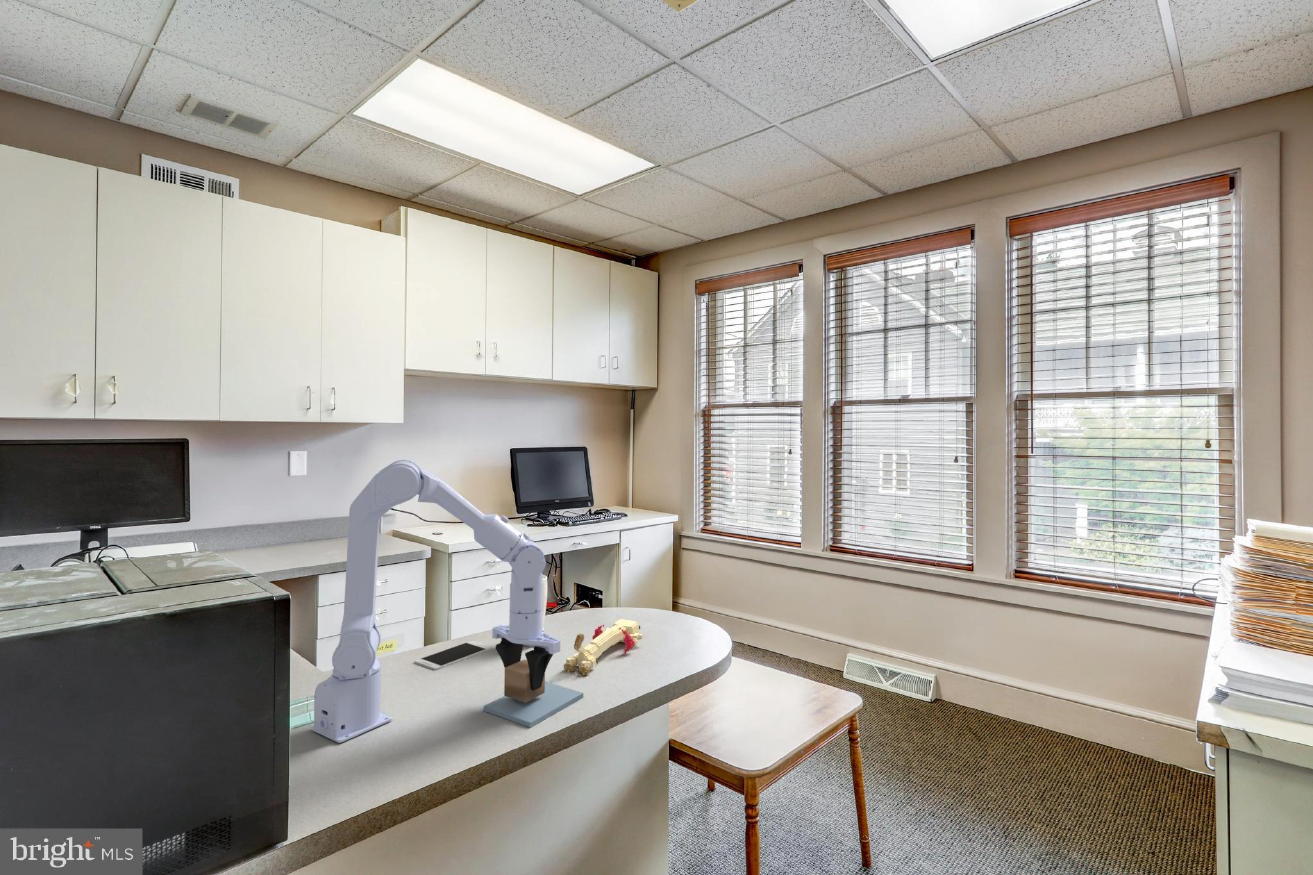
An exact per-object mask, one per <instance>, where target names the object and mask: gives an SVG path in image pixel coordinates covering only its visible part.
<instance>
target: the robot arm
mask: <svg viewBox="0 0 1313 875" xmlns="http://www.w3.org/2000/svg"><path fill="white" fill-rule="evenodd" d="M417 495H418V500H417V502H418V503H428V504H430V503H431V504H436V505H438V506H440V507H441V508H442V509H443V510H445V511H446V512H448V513H449V514H451V515H452V516H453V517H455V518H456V519H458V520H459V521H460V522H462V523H464V524H465V525H467V526H468V527H469V528H470V529H472V530H473V539H474V540H473V541H475V542H476V543H478V544H479V545H480V546H482V547H483V548H484V549H485V550H487V551H489V553H491V554H492V555H493V556H494V557H496V558H497V559H499V561H502V562H505V563H508V564H509V566H511V571H510V572H511V574H510V575H511V576H510V577H511V578H510V581H511V582H510V584H509V617H508V618H509V623H508V626H507V625H502V624H499V625H496V626H493V627H492V632H491V633H492V634H491V636H492V638H491V639H494V640H497V639H500V643H497V644H495V651H496V652H497V654H498V655H499V657H500V659H501V661H502V664H503V667H504V669H505V668H506V667H508V666H510V665H513V664H515V663H517V662H519V661H522V655H523V654H522V653H523V650H524V646H525V645H527V647H531V648H533V649H531V650H529V651H527V652H525V653H524V656H525V658H526V659H525V660H527V662H528V666H529V673H530V687H531V690H533V691H535V690H536V689H538V688H540V687H541V686H542V682H543V678H544V674H545V675H546V671H547V668H548V665H549V664H550V661H551V660H552V657H553V656H554V654H556V653H559V652H561V640H560V639H557V638H554V637H553V636H551V635H549V634H547V633H546V632H545V628H544V629H543V628H542V593H543V584H542V575H543V572H544V570H545V568H546V565H547V561H546V559H545V555H544V552H543V550H542V549H541V548H540V546H539V545H538V544H537V543H536V542H535V541H534V540H533V539H531V538H530V535H528V534H527V533H526V532H525V533H521V532H520V531H519V530H517V529H516V528H515V527H514V526H513V525H511V524H510V523H509V522H510V520H509V518H508V517H507V516H505V515H504V514H502V515H501V516H499V514H498V513H491V514H484V513H483V512H482V511H480V510H479V509H478V508H477V507H476V506H474V505H473V504H472V503H471V502H470V501H468V500H467V499H466V498H465V497H463V496H462V495H461V493H459V492H457V491H456V490H455V489H454V488H453V487H452V486H450V485H449V484H447V483H446V482H445V481H444V480H443V479H441V478H439V477H438V476H436V475H435V474H434V473H432V472H430V471H428V470H426V469H425V468H422V469H421V468H420V466H419V465H418V464H417V463H415V462H414V461H411V460H407V459H400V460H395V461H393V462H392V463H390V464H388V465H386V466H385V467H384V468H382V469H380V470H379V471H378V472H377V473H376V474H375V475H374V476H373V477H372V478H371V479H370V480H369V482H368V483H367V484H366V486H365V487H364V488H363V489H362V490H361V491H360V493H359V494H358V495H357V496H356V497H355V498H354V500H353V501H352V503H351V504H350V507H349V513H348V514H349V515H348V531H347V532H348V533H347V548H346V551H347V552H346V568H345V585H344V602H343V616H342V622H341V628H340V632H339V642H338V644H337V646H336V647H335V649H334V651H333V653H332V657H331V662H332V663H331V664H332V667H333V669H332V673H331V675H330V676H329V677H327V678H325V680H323V681H321V682H319V683H318V684H316V687H315V689H314V693H313V694H314V698H313V700H314V702H313V703H314V704H313V705H314V706H313V708H314V709H313V713H314V714H313V715H314V716H313V726H311V728H310V729H312V730H311V731H313V732H315V733H317V734H319V735H321V736H324V737H325V738H328V739H330V740H332V741H334V742H336V743H338V744H340V743H344V742H346V741H348V740H350V739H353V738H356V737H358V736H360V735H361V734H364V733H366V732H368V731H371V730H372V729H376V728H378V727H380V726H382V725H384V724H387V723H388V722H391V721H392V720H393V717H392V716H391V715H388V714H385V713H383V712H382V711H381V710H382V709H381V708H382V707H381V706H382V705H381V699H382V696H381V694H382V691H381V690H382V689H381V688H382V686H381V684H382V678H381V677H382V663H381V662H380V660H378V658H377V655H376V654H377V651H378V649H379V647H380V644H381V634H380V631H379V629H378V627H377V620H376V619H377V618H376V614H377V613H376V598H377V597H376V596H377V580H378V576H377V575H378V565H379V564H378V563H379V562H378V560H379V544H380V527H381V526H380V525H381V517H383V516H384V515H385V514H386V513H388V512H389V511H390V510H391V509H392V508H393V507H396V506H398V505H401V504H403V503H406V502H409V501H411V500H412V499H414V498H415V497H416V496H417Z"/></svg>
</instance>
